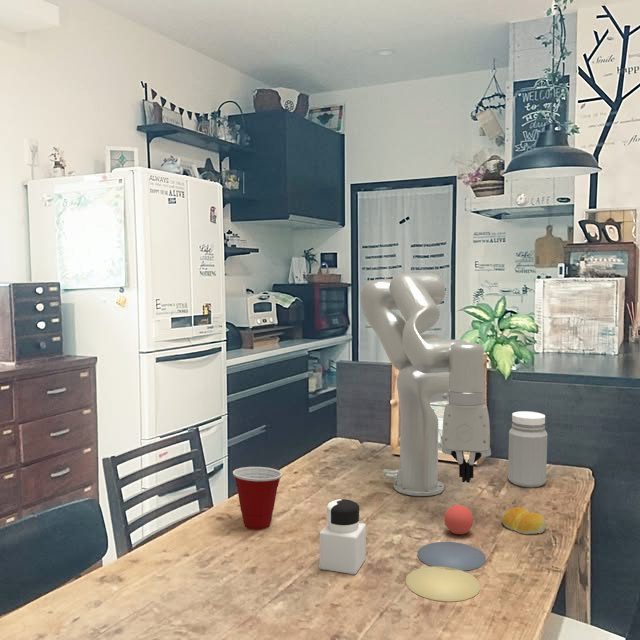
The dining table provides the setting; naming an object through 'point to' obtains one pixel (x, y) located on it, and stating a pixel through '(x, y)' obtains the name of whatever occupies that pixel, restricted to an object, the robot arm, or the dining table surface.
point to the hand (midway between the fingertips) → (466, 480)
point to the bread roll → (523, 521)
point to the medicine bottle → (342, 538)
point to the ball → (458, 519)
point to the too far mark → (443, 584)
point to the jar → (527, 449)
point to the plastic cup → (257, 495)
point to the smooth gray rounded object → (451, 556)
